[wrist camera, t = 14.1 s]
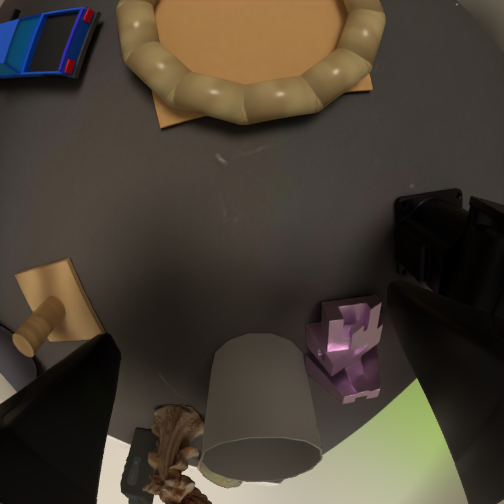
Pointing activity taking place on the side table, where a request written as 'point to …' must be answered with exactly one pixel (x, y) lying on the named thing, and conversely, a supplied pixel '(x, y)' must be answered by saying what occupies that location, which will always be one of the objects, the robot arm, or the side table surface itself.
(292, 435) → the cup
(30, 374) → the bowl
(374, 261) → the side table surface
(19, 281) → the ring toss peg
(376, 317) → the purple jagged faceted chunk
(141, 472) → the walkie-talkie
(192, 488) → the figurine
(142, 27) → the segmented tan ring
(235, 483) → the decorative insect model
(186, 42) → the mat
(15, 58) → the toy car
